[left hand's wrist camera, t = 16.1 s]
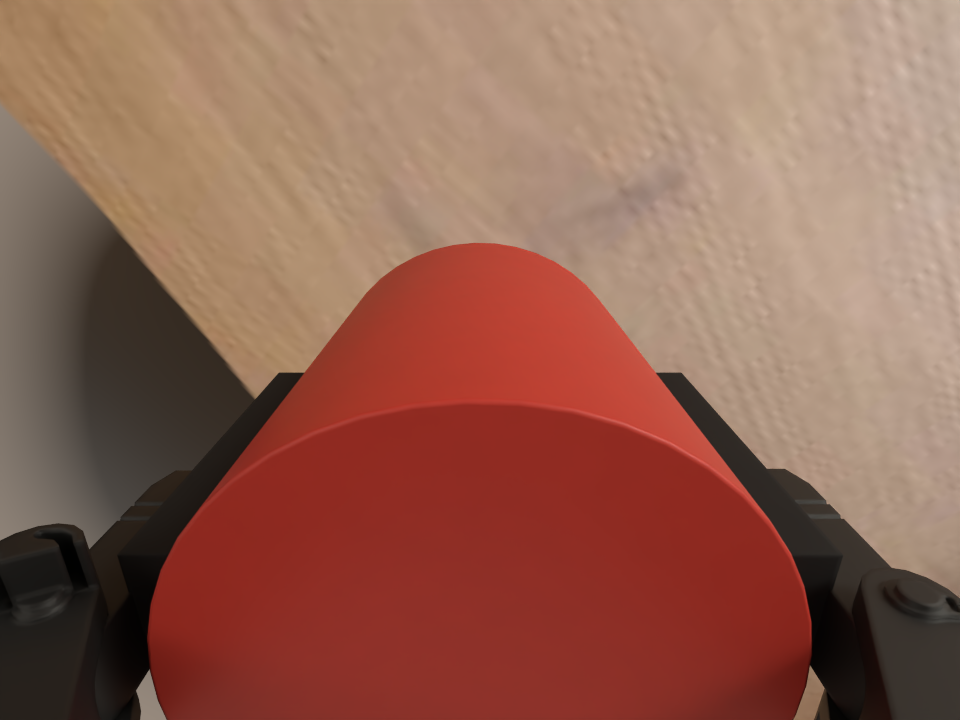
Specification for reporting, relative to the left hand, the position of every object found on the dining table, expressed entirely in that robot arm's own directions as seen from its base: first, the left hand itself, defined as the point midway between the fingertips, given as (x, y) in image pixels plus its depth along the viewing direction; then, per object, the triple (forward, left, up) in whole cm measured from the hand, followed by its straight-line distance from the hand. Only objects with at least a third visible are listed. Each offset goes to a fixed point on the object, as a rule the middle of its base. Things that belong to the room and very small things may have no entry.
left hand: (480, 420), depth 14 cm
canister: (0, 0, -2) cm, 2 cm away
